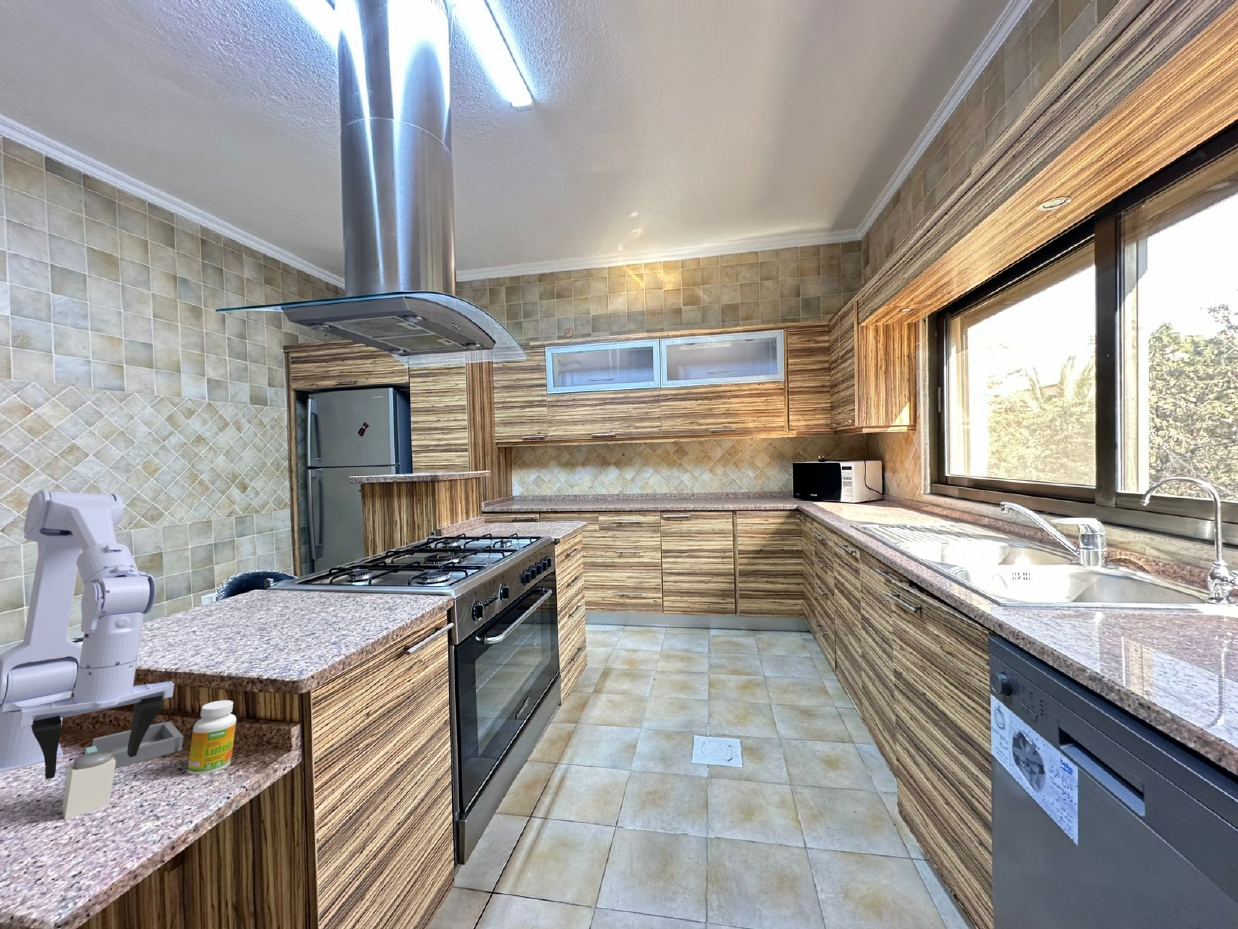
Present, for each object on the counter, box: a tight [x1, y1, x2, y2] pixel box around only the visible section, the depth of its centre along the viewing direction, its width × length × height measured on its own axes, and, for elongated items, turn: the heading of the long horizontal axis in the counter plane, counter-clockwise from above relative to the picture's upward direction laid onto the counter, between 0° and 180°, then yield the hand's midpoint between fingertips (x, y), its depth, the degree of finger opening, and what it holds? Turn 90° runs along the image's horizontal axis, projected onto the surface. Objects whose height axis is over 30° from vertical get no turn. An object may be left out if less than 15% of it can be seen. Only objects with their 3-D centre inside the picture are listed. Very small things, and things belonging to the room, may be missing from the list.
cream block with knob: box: [61, 750, 116, 820], centre depth 65 cm, size 4×4×7 cm
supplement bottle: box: [187, 699, 237, 776], centre depth 77 cm, size 5×5×10 cm
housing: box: [91, 721, 184, 769], centre depth 77 cm, size 18×11×2 cm, turn 54°
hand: (92, 765), depth 65 cm, fingers open, 7 cm apart
